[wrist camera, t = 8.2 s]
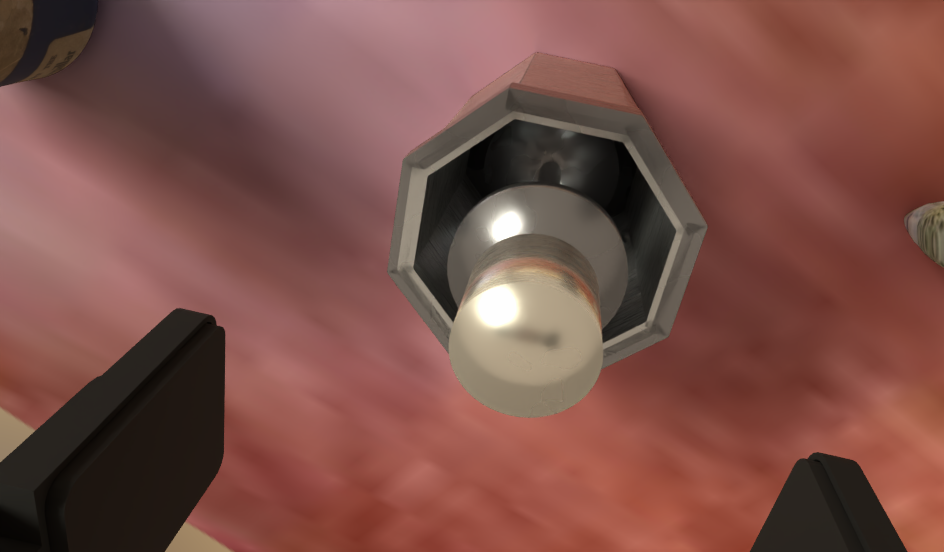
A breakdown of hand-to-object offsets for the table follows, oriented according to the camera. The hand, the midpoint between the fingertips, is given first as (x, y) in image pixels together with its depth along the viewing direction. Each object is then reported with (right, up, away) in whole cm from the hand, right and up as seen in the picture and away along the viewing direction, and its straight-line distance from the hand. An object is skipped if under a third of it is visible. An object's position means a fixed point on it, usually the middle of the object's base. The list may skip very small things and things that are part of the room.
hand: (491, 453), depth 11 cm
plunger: (+3, +8, +18) cm, 20 cm away
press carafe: (+3, +7, +21) cm, 22 cm away
